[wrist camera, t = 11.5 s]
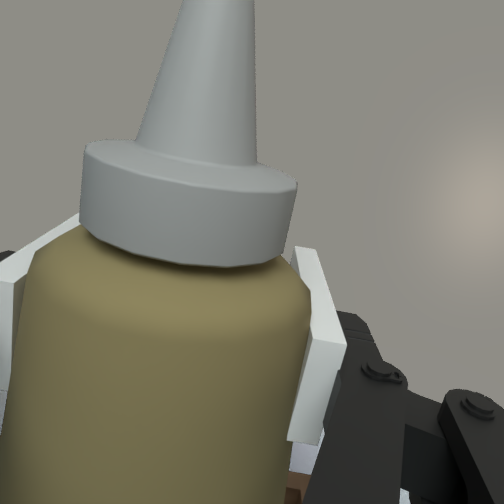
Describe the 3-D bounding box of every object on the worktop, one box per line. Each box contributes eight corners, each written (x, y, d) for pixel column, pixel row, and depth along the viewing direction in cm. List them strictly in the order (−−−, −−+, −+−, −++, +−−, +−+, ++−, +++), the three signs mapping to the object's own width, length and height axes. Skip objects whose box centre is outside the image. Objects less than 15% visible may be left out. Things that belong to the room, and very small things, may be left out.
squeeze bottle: (-69, 605, 14) (-98, -104, 8) (148, 471, 20) (217, 14, 14) (81, 914, 9) (249, -188, 4) (301, 618, 16) (491, 37, 10)
